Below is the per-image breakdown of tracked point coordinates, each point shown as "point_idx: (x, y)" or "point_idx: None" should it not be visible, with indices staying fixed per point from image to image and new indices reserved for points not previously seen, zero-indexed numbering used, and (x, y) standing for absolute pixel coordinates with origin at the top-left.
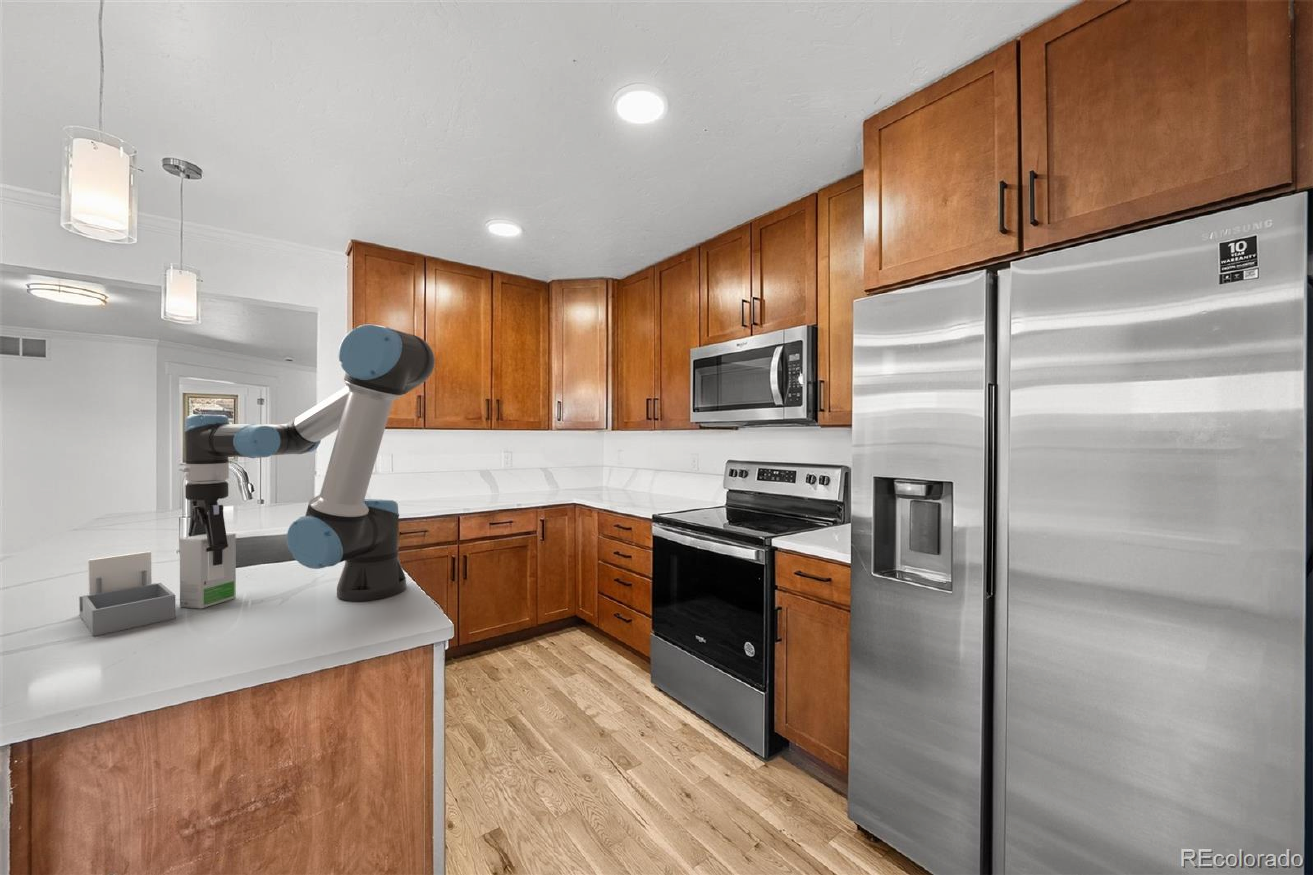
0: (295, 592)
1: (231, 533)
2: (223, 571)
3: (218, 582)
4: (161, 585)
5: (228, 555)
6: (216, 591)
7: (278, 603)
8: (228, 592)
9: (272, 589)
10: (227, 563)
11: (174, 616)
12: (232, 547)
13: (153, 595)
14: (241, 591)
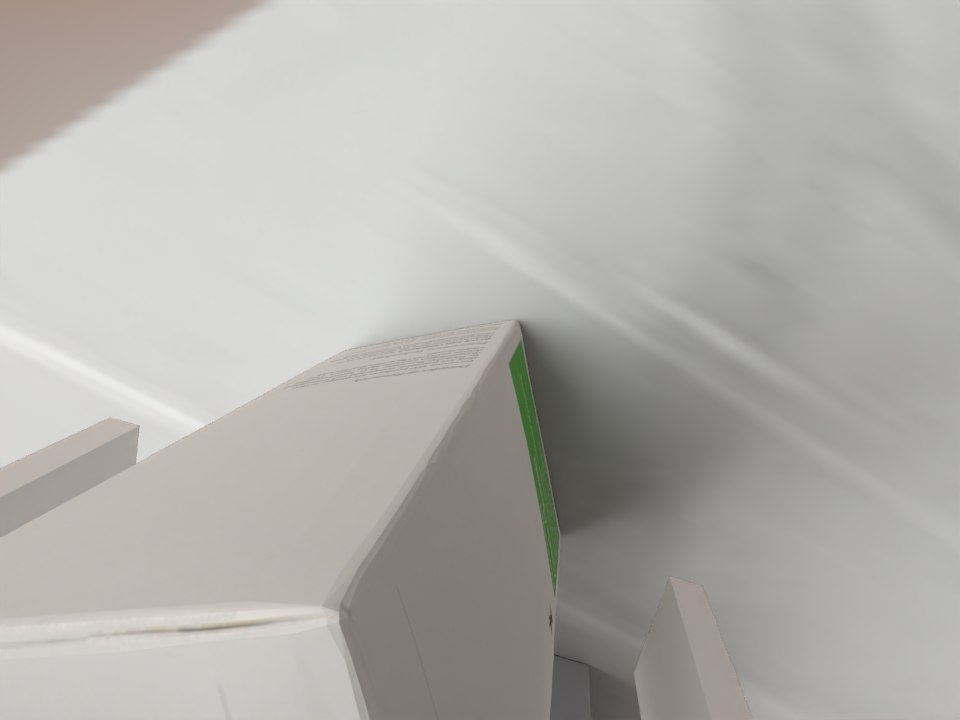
0: (825, 14)
1: (255, 665)
2: (714, 634)
3: (536, 505)
4: None
5: (482, 530)
6: (542, 489)
7: (956, 260)
8: (527, 389)
9: (551, 61)
10: (504, 498)
11: (586, 676)
12: (451, 528)
13: None
14: (387, 207)
